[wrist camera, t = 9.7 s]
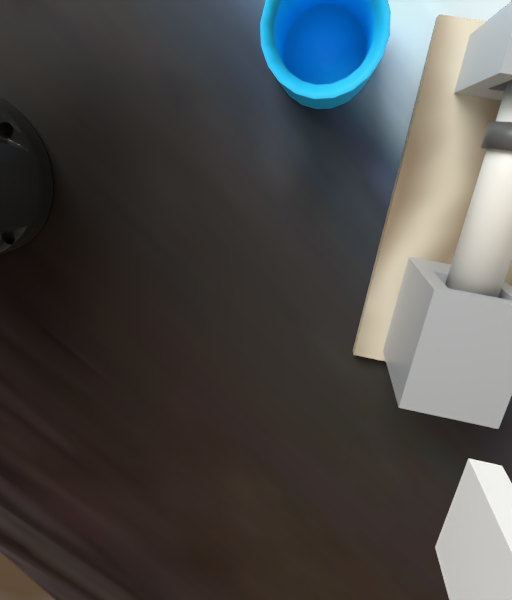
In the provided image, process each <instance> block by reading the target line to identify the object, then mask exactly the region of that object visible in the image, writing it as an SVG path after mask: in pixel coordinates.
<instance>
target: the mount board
mask: <svg viewBox="0 0 512 600" xmlns="http://www.w3.org/2000/svg"><path fill="white" fill-rule="evenodd" d="M485 22H486V21H482V20H475V19H468V18H461V17H454V16H446V15H439V16H438V17H437V18H436V22H435V26H434V30H433V34H432V38H431V42H430V46H429V50H428V54H427V58H426V62H425V66H424V70H423V74H422V78H421V82H420V86H419V90H418V94H417V98H416V102H415V106H414V110H413V114H412V117H411V121H410V125H409V129H408V133H407V137H406V141H405V145H404V149H403V153H402V157H401V161H400V165H399V169H398V173H397V177H396V181H395V185H394V189H393V193H392V197H391V201H390V205H389V209H388V213H387V217H386V221H385V225H384V229H383V233H382V237H381V241H380V245H379V249H378V253H377V257H376V261H375V264H374V268H373V272H372V276H371V280H370V284H369V288H368V292H367V296H366V300H365V304H364V308H363V312H362V316H361V320H360V324H359V328H358V332H357V336H356V340H355V344H354V348H353V355H357V356H362V357H367V358H372V359H376V360H381V361H386V360H385V356H384V353H383V348H384V345H385V341H386V338H387V334H388V330H389V327H390V323H391V319H392V316H393V312H394V309H395V305H396V301H397V298H398V294H399V290H400V287H401V283H402V279H403V276H404V272H405V269H406V265H407V261H408V258H409V257H413V258H419V259H424V260H430V261H435V262H440V263H446V264H452V260H453V257H454V254H455V251H456V247H457V244H458V241H459V238H460V234H461V231H462V228H463V225H464V221H465V218H466V215H467V212H468V208H469V205H470V202H471V199H472V195H473V192H474V189H475V186H476V183H477V179H478V176H479V173H480V170H481V166H482V163H483V160H484V157H485V153H486V149H482V148H481V145H482V141H483V138H484V135H485V131H486V128H487V125H488V122H493V121H496V118H497V114H498V111H499V108H500V105H501V100H495V99H488V98H482V97H475V96H469V95H462V94H456V93H454V91H455V87H456V83H457V80H458V76H459V73H460V69H461V65H462V62H463V58H464V54H465V51H466V47H467V44H468V40H469V36H470V34H471V33H473V32H474V31H475V30H476V29H478V28H479V27H480V26H481V25H483V24H484V23H485ZM504 281H505V282H506V283H507V284H509V285H510V286H512V259H511V262H510V265H509V268H508V271H507V274H506V277H505V279H504Z"/></svg>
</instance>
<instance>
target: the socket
mask: <svg viewBox="0 0 512 600" xmlns="http://www.w3.org/2000/svg"><path fill="white" fill-rule="evenodd" d="M510 80H512V1H511V2H510V3H509V4H507V5H506V6H505V7H504V8H502V9H501V10H500V11H499V12H498V13H496V14H495V15H494V16H493V17H491V18H490V19H489V20H488V21H486V22H485V23H484V24H483V25H481V26H480V27H479V28H478V29H476V30H475V31H474V32H473V33H471V34H470V36H469V40H468V44H467V47H466V51H465V54H464V58H463V62H462V65H461V69H460V73H459V76H458V80H457V83H456V87H455V91H454V93H456V94H462V95H469V96H475V97H482V98H488V99H495V100H501V101H502V98H503V95H504V92H505V88H506V85H507V82H508V81H510Z"/></svg>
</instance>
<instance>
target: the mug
mask: <svg viewBox="0 0 512 600" xmlns="http://www.w3.org/2000/svg"><path fill="white" fill-rule="evenodd" d="M390 14H391V12H390V8H389V4H388V0H266V2H265V6H264V10H263V14H262V18H261V22H260V29H261V47H262V50H263V53H264V56H265V59H266V62H267V65H268V67H269V68H270V70H271V71H272V72H273V74H274V75H275V77H276V78H277V80H278V81H279V82H280V84H281V85H282V87H283V88H284V89H285V91H286V92H287V94H288V95H289V96H290V97H291V98H293V99H294V100H296V101H297V102H298V103H300V104H301V105H304V106H307V107H311V108H314V109H330V108H335V107H337V106H340V105H342V104H345V103H347V102H348V101H350V100H351V99H352V98H353V97H355V96H356V95H357V94H358V93H359V92H361V90H362V89H363V87H364V86H365V84H366V83H367V82H368V80H369V79H370V77H371V76H372V74H373V72H374V70H375V69H376V67H377V65H378V64H379V62H380V60H381V59H382V57H383V54H384V51H385V48H386V45H387V42H388V39H389V36H390Z"/></svg>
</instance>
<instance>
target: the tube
mask: <svg viewBox="0 0 512 600" xmlns="http://www.w3.org/2000/svg"><path fill="white" fill-rule="evenodd" d="M481 148H482V149H486V153H485V157H484V160H483V163H482V166H481V170H480V173H479V176H478V179H477V183H476V186H475V189H474V192H473V195H472V199H471V202H470V205H469V208H468V212H467V215H466V218H465V221H464V225H463V228H462V231H461V234H460V238H459V241H458V244H457V247H456V251H455V254H454V257H453V260H452V264H451V267H450V270H449V273H448V277H447V280H446V283H445V285H446V286H447V287H448V288H449V289H455V290H460V291H465V292H470V293H476V294H481V295H486V296H491V297H497V298H498V296H499V294H500V291H501V288H502V285H503V282H504V279H505V277H506V274H507V271H508V268H509V265H510V262H511V259H512V80H510V81H508V82H507V85H506V88H505V92H504V95H503V98H502V101H501V105H500V108H499V111H498V114H497V118H496V121H493V122H488V125H487V128H486V131H485V135H484V138H483V141H482V145H481Z"/></svg>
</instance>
